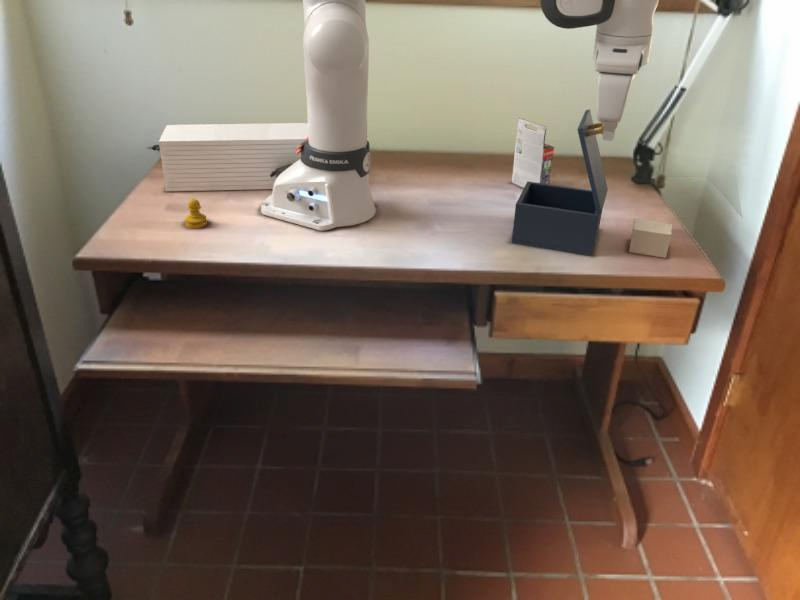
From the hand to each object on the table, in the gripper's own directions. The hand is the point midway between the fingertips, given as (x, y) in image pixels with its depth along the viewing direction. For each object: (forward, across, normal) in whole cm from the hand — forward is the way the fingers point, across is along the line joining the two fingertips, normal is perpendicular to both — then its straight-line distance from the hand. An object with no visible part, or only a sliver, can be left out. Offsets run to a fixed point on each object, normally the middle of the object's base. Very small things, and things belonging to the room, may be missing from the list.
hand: (609, 133), depth 129 cm
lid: (+5, 0, -3) cm, 6 cm away
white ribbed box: (+19, -3, -74) cm, 77 cm away
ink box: (+21, -22, -16) cm, 34 cm away
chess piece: (+19, +20, -72) cm, 77 cm away
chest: (+20, 0, -7) cm, 22 cm away
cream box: (+21, -1, +10) cm, 23 cm away
